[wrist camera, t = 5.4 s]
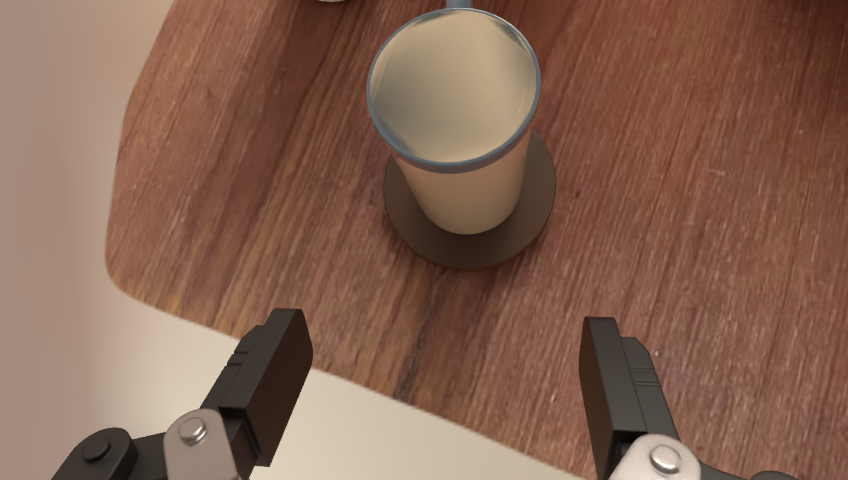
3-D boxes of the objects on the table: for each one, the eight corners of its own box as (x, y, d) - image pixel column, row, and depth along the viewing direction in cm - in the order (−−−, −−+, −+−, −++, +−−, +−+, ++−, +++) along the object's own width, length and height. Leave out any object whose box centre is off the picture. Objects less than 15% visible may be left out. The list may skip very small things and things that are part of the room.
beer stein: (410, 236, 28) (360, 169, 18) (416, 88, 30) (373, -53, 20) (524, 236, 27) (543, 164, 17) (522, 83, 29) (538, -67, 19)
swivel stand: (384, 271, 30) (379, 267, 28) (392, 117, 32) (387, 106, 30) (555, 273, 28) (558, 268, 27) (551, 112, 30) (554, 100, 29)
